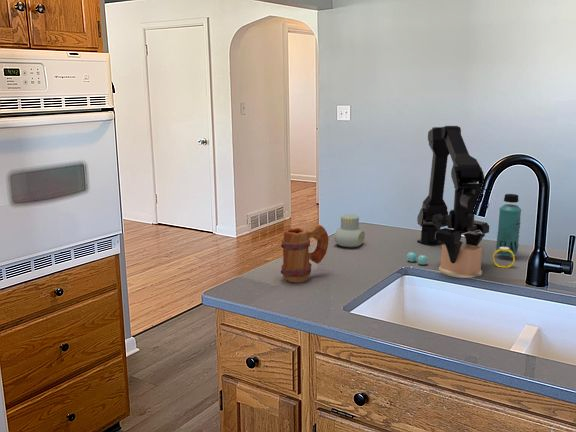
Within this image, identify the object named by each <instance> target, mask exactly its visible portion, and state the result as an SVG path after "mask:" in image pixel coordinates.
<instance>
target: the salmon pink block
mask: <svg viewBox="0 0 576 432" xmlns="http://www.w3.org/2000/svg"><path fill="white" fill-rule="evenodd" d="M440 253H441V254H440V255H441V257H440V266H441V268H442V269H445V270H449V271H452V272H456V273H460V274H463V275H467V276H468V275H471V274H474V273H476V272H479V271H480V269H481V267H482V253H483V246H479V245H478V246H474V245H470V244H466V242H465V243H464V242H462V245H461V248H460V251H459V254H458V256H457V259H456V262H455V263H451V261H450V258H449V254H448V251H447V248H446V246H445V244H444V243H442V244H441V252H440ZM481 270H482V269H481Z"/></svg>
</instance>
